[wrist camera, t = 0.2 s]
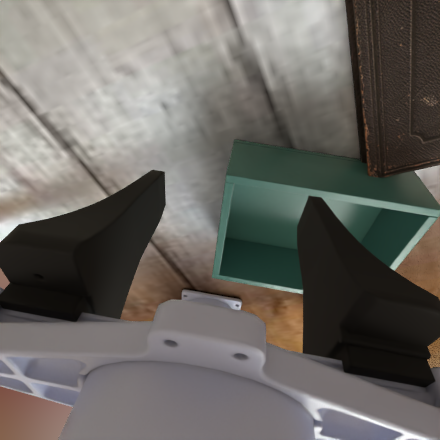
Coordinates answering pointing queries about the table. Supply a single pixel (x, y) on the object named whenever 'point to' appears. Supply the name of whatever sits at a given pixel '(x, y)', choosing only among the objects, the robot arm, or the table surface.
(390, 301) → the robot arm
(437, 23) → the hardcover book
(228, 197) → the open storage box
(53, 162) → the table surface
